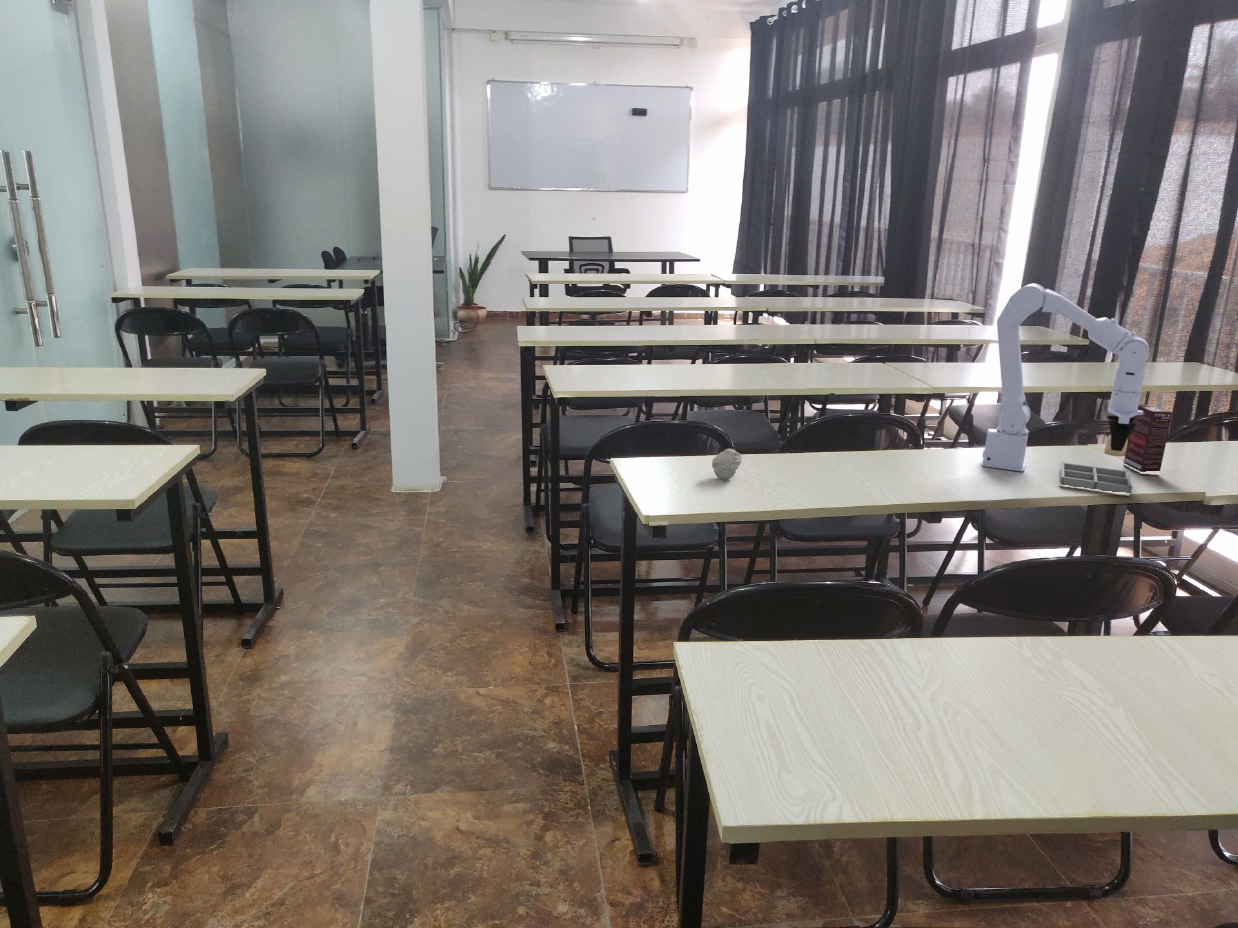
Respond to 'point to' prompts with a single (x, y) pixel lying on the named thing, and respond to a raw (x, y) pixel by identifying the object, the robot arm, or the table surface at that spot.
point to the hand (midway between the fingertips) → (1115, 447)
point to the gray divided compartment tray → (1095, 478)
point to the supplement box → (1148, 438)
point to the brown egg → (1113, 452)
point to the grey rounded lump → (726, 464)
